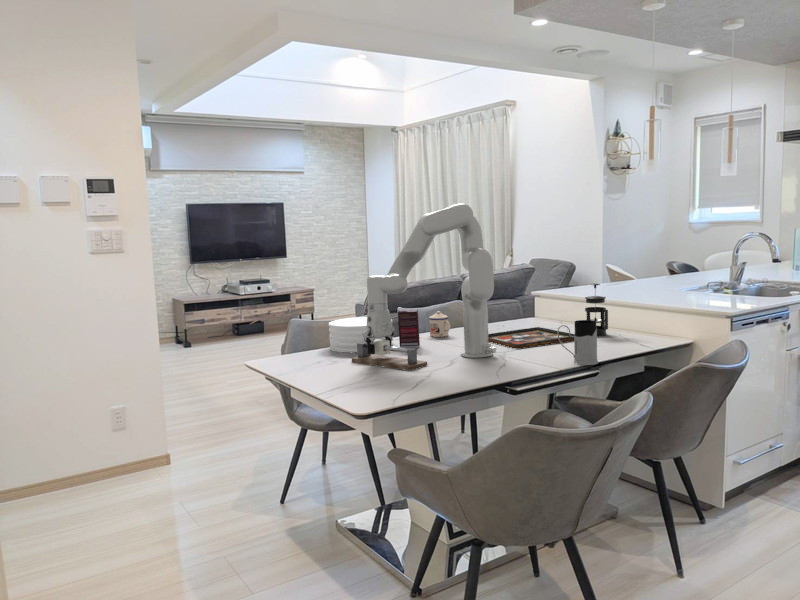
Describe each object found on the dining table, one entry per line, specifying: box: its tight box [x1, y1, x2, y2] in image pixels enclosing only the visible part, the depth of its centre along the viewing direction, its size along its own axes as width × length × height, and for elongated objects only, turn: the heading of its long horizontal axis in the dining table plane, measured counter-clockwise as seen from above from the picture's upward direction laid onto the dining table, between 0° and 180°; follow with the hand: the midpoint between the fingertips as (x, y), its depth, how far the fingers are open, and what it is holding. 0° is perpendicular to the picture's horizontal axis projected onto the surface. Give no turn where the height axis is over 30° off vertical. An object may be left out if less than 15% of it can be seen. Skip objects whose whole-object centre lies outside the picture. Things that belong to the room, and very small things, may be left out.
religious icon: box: [488, 326, 575, 349], centre depth 280 cm, size 38×35×3 cm
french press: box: [584, 283, 609, 337], centre depth 283 cm, size 12×9×23 cm
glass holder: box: [556, 319, 599, 366], centre depth 229 cm, size 9×14×15 cm, turn 79°
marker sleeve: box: [373, 339, 391, 356], centre depth 244 cm, size 6×5×5 cm
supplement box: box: [397, 309, 421, 349], centre depth 273 cm, size 9×5×16 cm, turn 84°
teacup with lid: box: [428, 310, 451, 338], centre depth 298 cm, size 12×9×12 cm
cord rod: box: [356, 342, 418, 364], centre depth 241 cm, size 28×4×6 cm, turn 49°
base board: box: [351, 354, 428, 371], centre depth 241 cm, size 30×10×2 cm, turn 49°
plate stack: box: [328, 316, 394, 353], centre depth 279 cm, size 28×28×12 cm
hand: (379, 351), depth 244 cm, fingers open, 9 cm apart
